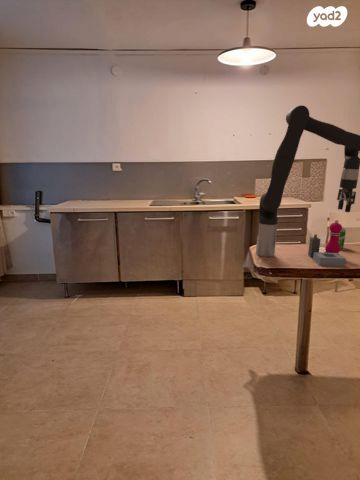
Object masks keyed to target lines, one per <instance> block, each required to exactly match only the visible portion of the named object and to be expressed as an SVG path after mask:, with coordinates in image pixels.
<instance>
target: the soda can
mask: <svg viewBox="0 0 360 480" xmlns="http://www.w3.org/2000/svg"><path fill="white" fill-rule="evenodd" d="M346 232H347V229H346V228H345V227H343V226H342V230H341V231H340V236H339V238H338V242H339V245H340V250H341V249H343V248H345V247H344V246H345V239H346Z"/></svg>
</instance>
